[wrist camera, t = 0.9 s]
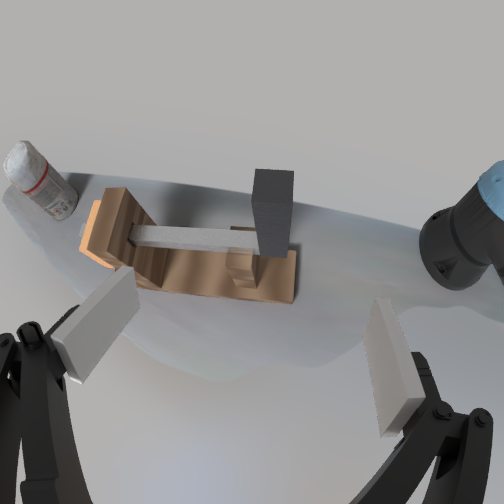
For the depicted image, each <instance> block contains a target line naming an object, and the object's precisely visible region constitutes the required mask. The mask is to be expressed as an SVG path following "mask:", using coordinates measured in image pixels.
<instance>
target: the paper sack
mask: <svg viewBox="0 0 504 504" xmlns="http://www.w3.org/2000/svg"><path fill="white" fill-rule="evenodd" d="M3 167H4V170H5V173H6V176H7V178H8V179H9V180H10V182H11V183H12V184H13V185H14V186H16V187H17V188H18V189H19V190H20V191H22V192H23V193H24V194H25V195H27V196H28V197H29V198H30V199H31V200H33V201H34V202H35V203H36V204H38V205H39V206H40V207H41V208H43V209H44V210H45V211H46V212H47V213H48V214H49V215H51V216H52V217H53V218H54V219H55V220H57V221H60V220H63V219H65V218H66V217H68V216H69V215H71V214H72V212H73V211H74V209H75V208H76V205H77V202H78V194H77V192H76V191H75V189H73V188H72V187H71V186H70V185H69V184H68V183H67V182H66V181H65V180H64V179H63V178H62V177H61V175H60V174H59V173H58V172H57V171H56V170H55V169H54V168H53V167H52V166H51V165H50V164H49V163H48V162H47V160H46V159H45V158H44V157H43V156H42V155H41V154H40V153H39V152H38V151H37V150H36V149H35V147H34V146H33V145H32V144H31V143H30V142H29V141H20V142H19V143H18V144H17V145H16V146H15V147H14V148H13V149H12V150H11V152H10V153H9V155H8V156H7V157H6V158H5V160H4V165H3Z"/></svg>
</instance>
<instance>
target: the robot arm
mask: <svg viewBox="0 0 504 504" xmlns="http://www.w3.org/2000/svg"><path fill="white" fill-rule="evenodd" d="M419 246H420V253H421V257H422V260H423V263H424V265H425V267H426V269H427V271H428V272H429V274H430V275H431V276H432V278H433V279H434V280H435V281H436V282H437V283H439V284H440V285H441V286H443V287H445V288H447V289H450V290H463V289H466V288H468V287H470V286H472V285H473V284H475V283H476V282H477V281H478V280H479V279H480V278H481V276H482V274H483V273H484V272H485V271H486V269H487V268H488V266H489V265H490V264H492V263H493V265H494V267H495V269H496V271H497V273H498V274H499V276H500V279H501V281H502V283H503V285H504V160H503V161H499V162H497V163H495V164H494V165H493V166H492V167H491V168H490V169H489V170H488V171H487V172H485V173H483V174H482V175H481V176H480V178H479V180H478V182H477V183H476V184H475V185H474V186H473V187H472V189H471V190H470V191H469V192H468V193H467V194H466V195H465V196H464V197H463V198H462V199H461V200H460V201H459V202H458V203H457V204H456V205H455V206H452V207H449V208H447V209H443V210H440V211H438V212H436V213H435V214H433V215H432V216H431V217H430V218H429V219H428V220H427V222H426V223H425V224H424V226H423V228H422V230H421V233H420V240H419ZM139 308H140V304H139V298H138V292H137V286H136V280H135V274H134V267H129V266H123V265H122V266H121V267H120V268H119V269H118V270H117V271H116V272H115V273H114V274H113V275H112V276H110V277H109V278H108V279H107V280H106V281H105V282H104V283H103V284H102V285H101V286H100V287H99V288H98V289H97V290H96V291H95V292H93V293H92V294H91V295H90V296H89V297H88V298H87V299H86V300H85V301H84V302H83V303H82V304H81V305H77V306H75V307H73V308H71V309H69V310H68V311H67V312H66V313H65V315H64V316H62V317H61V319H59V321H57V322H56V323H55V324H54V325H53V326H52V328H50V330H49V331H47V333H46V334H45V335H44V334H43V332H42V330H41V327H40V325H39V324H38V323H37V322H34V321H32V322H27V323H24V324H23V325H21V326H20V327H19V328H18V330H17V332H16V333H17V335H18V337H19V339H20V342H16V341H15V338H14V336H13V335H12V334H11V333H3V334H1V335H0V504H15V497H16V478H17V466H18V456H19V449H20V442H21V438H22V450H23V459H24V467H25V474H26V479H25V481H22V482H21V484H20V492H21V496H22V502H23V504H93V503H92V501H91V498H90V496H89V492H88V490H87V486H86V483H85V479H84V476H83V473H82V469H81V465H80V461H79V457H78V453H77V449H76V444H75V440H74V436H73V430H72V425H71V419H70V413H69V407H68V400H67V392H66V384H65V379H64V377H63V374H64V373H65V372H66V371H67V373H68V375H69V377H70V379H71V380H74V381H76V382H78V383H80V384H83V383H84V381H85V380H86V379H87V377H88V376H89V375H90V373H91V372H92V370H93V369H94V368H95V366H96V365H97V364H98V362H99V361H100V359H101V358H102V357H103V355H104V354H105V352H106V351H107V350H108V349H109V347H110V346H111V345H112V343H113V342H114V341H115V339H116V338H117V337H118V335H119V334H120V333H121V331H122V330H123V329H124V327H125V326H126V325H127V324H128V322H129V321H130V320H131V318H132V317H133V316H134V315H135V313H136V312H137V311H138V309H139ZM362 338H363V342H364V346H365V352H366V356H367V361H368V366H369V371H370V376H371V382H372V387H373V393H374V399H375V405H376V411H377V418H378V424H379V431H380V437H394V436H397V435H398V434H399V433H400V431H401V430H402V429H403V435H404V437H403V438H402V439H401V441H400V442H399V443H398V444H397V445H396V446H395V448H394V451H393V452H392V453H391V455H390V456H389V457H388V459H387V460H386V461H385V463H384V464H383V465H382V466H381V468H380V469H379V470H378V472H377V473H376V474H375V475H374V476H373V478H372V479H371V480H370V481H369V482H368V483H367V485H366V486H365V487H364V488H363V489H362V490H361V492H360V493H359V494H358V495H357V496H356V497H355V498H354V499H353V500H352V501H351V503H350V504H406V502H407V501H408V499H409V498H410V497H411V495H412V493H413V492H414V491H415V489H416V488H417V486H418V484H419V483H420V481H421V480H422V478H423V477H424V475H425V473H426V472H427V470H428V468H429V467H430V465H431V463H432V461H433V460H434V458H435V456H437V459H436V462H435V466H434V469H433V473H432V476H431V479H430V483H429V486H428V489H427V492H426V495H425V498H424V500H423V503H422V504H483V500H484V495H485V489H486V485H487V479H488V473H489V466H490V457H491V448H492V436H493V418H492V416H491V414H490V413H489V412H488V411H487V410H485V409H483V408H476V409H474V410H473V411H472V412H471V413H470V414H469V415H465V414H460V413H456V412H454V411H453V409H452V407H451V406H450V405H449V404H448V403H446V402H444V401H442V400H441V398H440V395H439V392H438V389H437V386H436V384H435V381H434V378H433V376H432V373H431V370H429V365H428V362H427V360H426V359H425V357H424V356H423V355H422V354H421V353H420V352H410V349H409V346H408V344H407V341H406V339H405V336H404V333H403V331H402V329H401V326H400V323H399V321H398V318H397V316H396V313H395V311H394V309H393V306H392V304H391V302H390V299H389V298H386V297H375V300H374V304H373V307H372V310H371V313H370V316H369V319H368V322H367V325H366V328H365V331H364V334H363V337H362ZM8 372H9V374H10V377H9V379H8V378H7V376H8Z"/></svg>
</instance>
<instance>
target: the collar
mask: <svg viewBox="0 0 504 504" xmlns="http://www.w3.org/2000/svg"><path fill="white" fill-rule="evenodd" d="M101 201H102V200H94V203H93V206H92V209H91V212H90V215H89V218H88V221H87V225H86V228H85V231H84V234H83V238H82V241H81V245H80V248H79V251H81V252H83V253H84V254H86V255H87V256H89V257H90V258H92V259H93V260H95V261H97V262H98V263H100V264H101V265H103V266H105V267H107V268H114V267H113V266H111V265H109V264H108V263H106V262H105V261H103V260H102V259H100V258H99V257H97V256H96V255H94V254H93V253H91V252H90V251H88V250H87V246H88V242H89V239H90V235H91V232H92V228H93V225H94V222H95V219H96V216H97V213H98V209H99V206H100V204H101Z"/></svg>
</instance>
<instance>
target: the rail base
mask: <svg viewBox="0 0 504 504" xmlns="http://www.w3.org/2000/svg"><path fill="white" fill-rule="evenodd" d="M131 225H148V226H157V225H156V224H155V223H154V222H153V220H152V219H151V218H150V217H149V216H148V214H147V213H146V212H145V211H144V209H143V208H142V207H141V206H140V205H139V203H138V202H137V201H136V200H135V198H134V197H133V196H132V195H131V193H130V192H129V191H128V190H127V188H126V187H123V188H106V189H105V192H104V195H103V198H102V201H101V204H100V206H99V209H98V213H97V216H96V219H95V222H94V225H93V228H92V232H91V235H90V239H89V242H88V246H87V250H88V251H90V252H91V253H93V254H94V255H96V256H97V257H99V258H100V259H102V260H103V261H105V262H106V263H108V264H109V265H111V266H113V267H114V268H116V269H115V272H116V271H117V270H118V269H119V268H120V267H121V266H122V265H123V266H129V267H134V274H135V280H136V286H137V288H143V289H150V290H158V291H166V292H174V293H182V294H191V295H199V296H209V297H218V298H228V299H238V300H249V301H260V302H273V303H285V304H292V303H293V294H294V280H295V264H296V251H294V250H288V254H287V258H278V257H264V256H260V255H254V254H241V253H227V252H214V251H200V250H187V249H174V248H160V247H147V246H134V245H131V244H130V243H129V242H128V241H127V240H128V236H129V232H130V229H131ZM230 230H241V231H256V228H251V227H235V226H231V228H230Z"/></svg>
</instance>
